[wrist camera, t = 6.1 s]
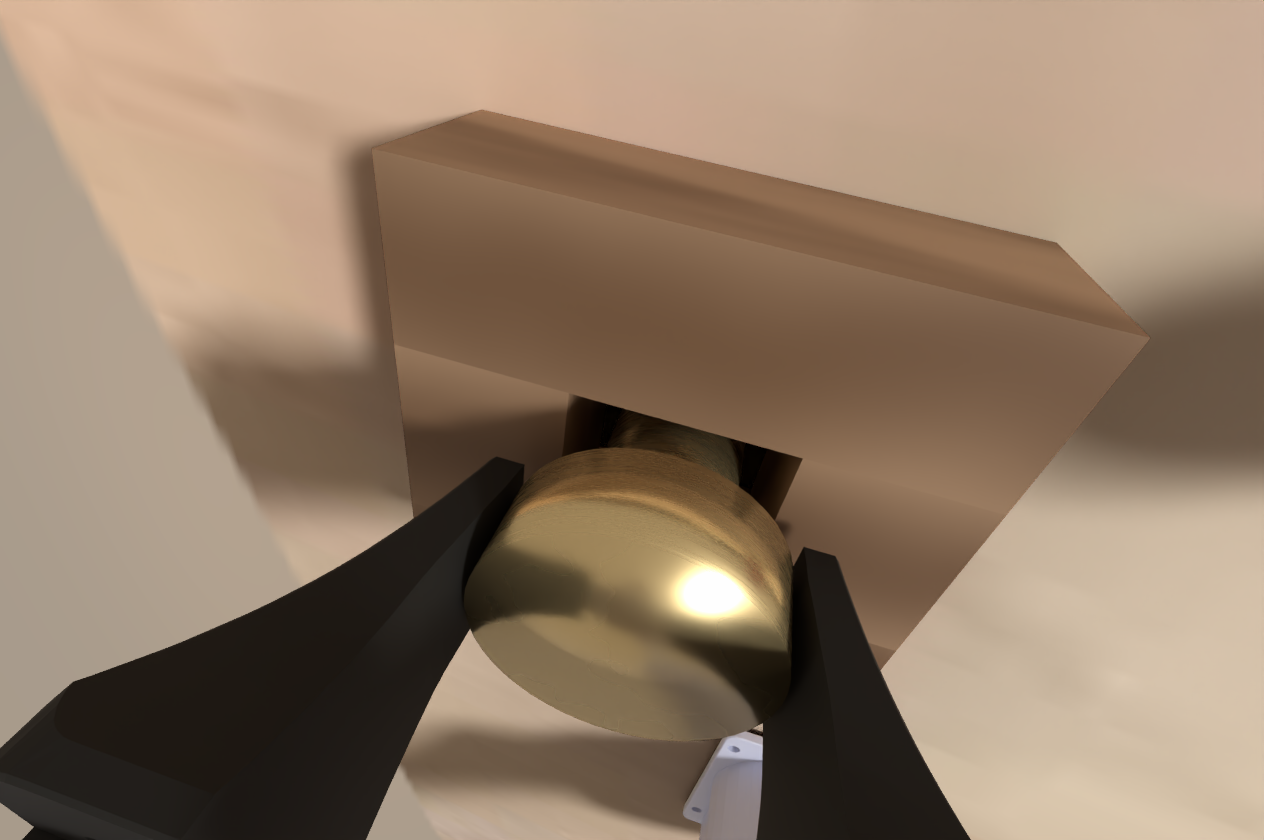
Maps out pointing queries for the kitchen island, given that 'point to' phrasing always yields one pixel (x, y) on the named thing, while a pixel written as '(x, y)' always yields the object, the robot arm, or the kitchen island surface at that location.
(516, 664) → the brass pin
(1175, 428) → the kitchen island surface
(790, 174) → the kitchen island surface
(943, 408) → the walnut block
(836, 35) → the kitchen island surface
